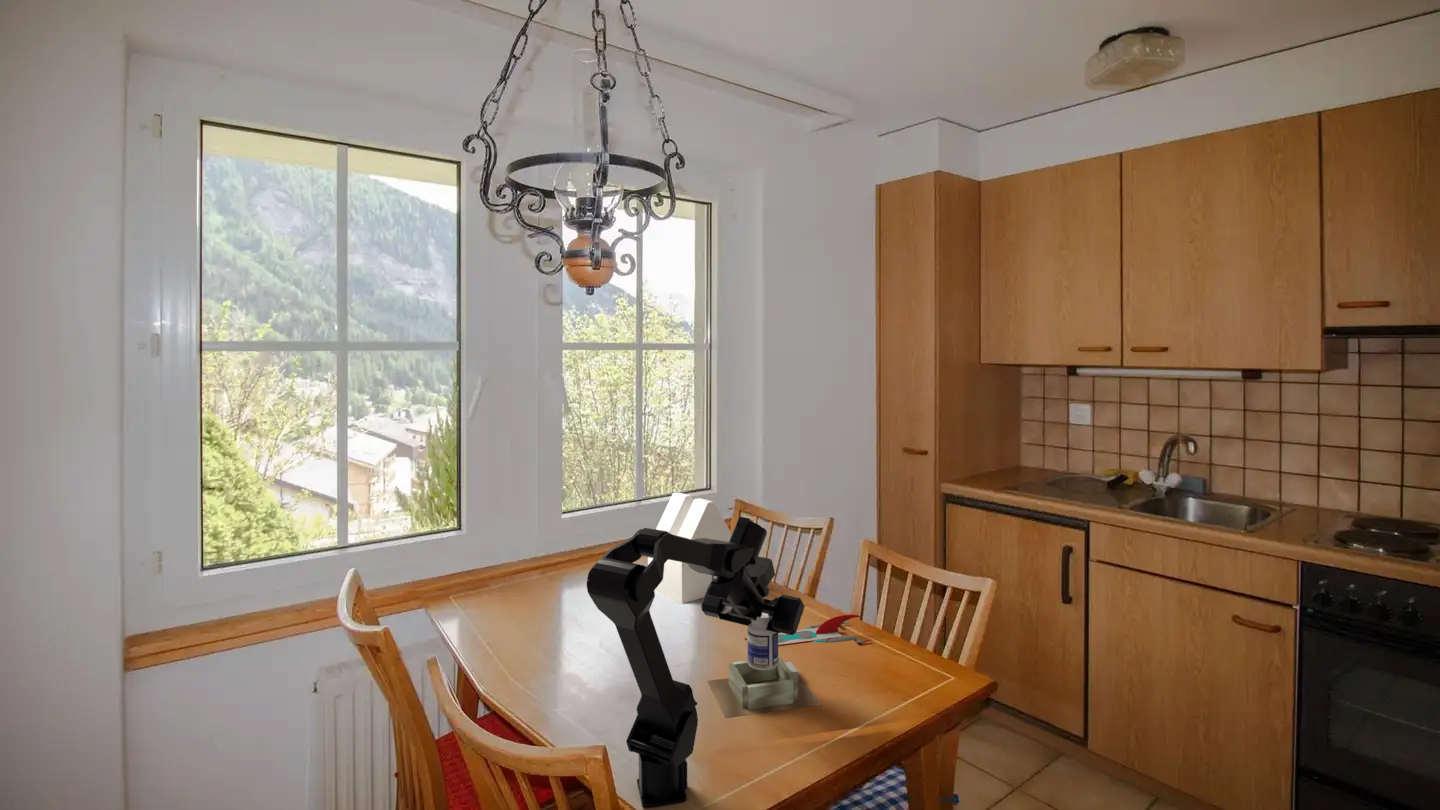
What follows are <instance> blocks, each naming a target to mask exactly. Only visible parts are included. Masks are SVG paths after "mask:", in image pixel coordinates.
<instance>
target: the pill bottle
mask: <svg viewBox="0 0 1440 810" xmlns="http://www.w3.org/2000/svg"><path fill="white" fill-rule="evenodd" d="M769 620H770V618H769V616H768V614H766V613H762V616H761V617H760V618H759V617H757V619H756V621H754V620H751V621H752V622H751V623H750V624H749V626H747V639H748V640H747V660H748V664H749V666H750V667H751V668H753V669H756V670H761V671H766V670H771V669H774V668H775V667H777V665H778V658H779V646H778V633H776V632H772V631H768V630H766V628H767V625H768V622H769Z"/></svg>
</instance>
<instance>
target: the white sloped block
mask: <svg viewBox="0 0 1440 810" xmlns="http://www.w3.org/2000/svg"><path fill="white" fill-rule="evenodd" d="M716 505H717V504H715V502H714V501H712V500H709V499H705V498H700V497H698V498H694V499H693V496H692V495H689V494H685V493H683V492H673V493H672V494H671V497H670V499H669V501H668V503H667V505H666V507H665V509H664V512H663V513H662V516H661V518H660V519H659V522H658V524H657V526H656V528H655V529H656V530H662V531H667V532H669V533H670V534H672V535H676V536H680V537H684V538H688V539H692V540H694V539H699V538H707V539H713V540H719V541H725V542H729V540H730V538H731V535H732V533H733V532H731V530H730V528H729V526H728V525H727V523H726V521H725V520H724V518H723V516H722V514H721V512H720V511H719V509H718V507H717V506H716ZM652 560H653V558H650V557H647V566H648V565H649V563H650V562H651V561H652ZM711 581H712V575H708V574H703V573H698V572H696V571H695V570H693V569H691V568H689V566H688V564H686V563H683V562H678V561H673V560H669V559H668V560H667V561H666V562H665V564H664V574H663V580H662V581H661V583H660V584H659V585H658V586H657V588H656V589H655V590H654V592H657V593H658V592H659V593H658V594H660V593H661V594H660V595H663V596H665V597H667V598H669V599H672V600H674V601H675V602H678V603H680V604H685V603H688V602H691V601H695V600H699V599H703V598H704V595H705V593H706V591H707V588H708V586H709V584H710V583H711Z"/></svg>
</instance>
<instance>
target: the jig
mask: <svg viewBox="0 0 1440 810" xmlns="http://www.w3.org/2000/svg"><path fill="white" fill-rule="evenodd" d="M784 662H785V661H784V660H783V659H782V657H778V665H777V667H775V668H774V669H771V670H766V671H761V670H756V669H753V668H751V667H750V666H749V664H748V659H747V660H741V661H733V662H732V663H728V678H727V677H726V678H719V679H711V680H707V681H706V682H707V684H708V686H709V689H710V690H711V692H712V694H713V696H714V698H715V700H716V702H717V704H718V706H719V709H720V710H721V712H722V714H723V716H724V718H725V719H728V718H735V717H743V716H751V715H758V714H765V713H770V712H771V713H772V712H779V711H786V710H793V709H794V710H795V709H799V708H800V709H801V708H808V707H816V706H822V704H821V702H820V701H819V700H818V698H817V697H816V695H814V693H813V692H812V691H811V690H810V689H811V688H809V687H808V685H807V684H806V683H805V681H804V679H802V678H801V676H800V675H799V674H798V680H797V679H796V677H795V676H794V675H793V673H792V672H791V671H790V669H789V668H788V667H787V666H786V664H785V663H784Z"/></svg>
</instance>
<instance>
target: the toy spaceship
mask: <svg viewBox="0 0 1440 810" xmlns="http://www.w3.org/2000/svg"><path fill="white" fill-rule="evenodd" d="M853 618H854V619H855V618H861V615H858V614H844V615H838V616H834V617H832V618H829V619H828V620H827V619H826V620H825V621H824V622H823V623H819V624H818V623H817V624H815V625H810V626H809V627H805V628H804V629H797V631H796V633H795V634H793V635H789V634H785V633H778V647H782V646H790V645H797V644H806V643H822V644H823V643H824V644H833V643H841V642H849V641H854V642H855V644H861V643H866V642H871V641H872V639H866V640H865V639H864V640H858V638H857V636H856V635H847V636H843V635H842V634H841V633H840V632H839V628H840V629H842V625H847V624H851V622H849V620H851V619H853ZM846 621H848V622H846ZM744 641H748V638H746V637H744Z"/></svg>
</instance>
